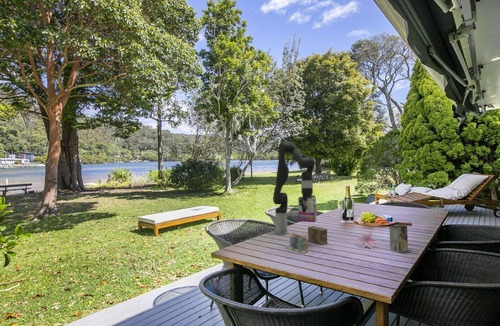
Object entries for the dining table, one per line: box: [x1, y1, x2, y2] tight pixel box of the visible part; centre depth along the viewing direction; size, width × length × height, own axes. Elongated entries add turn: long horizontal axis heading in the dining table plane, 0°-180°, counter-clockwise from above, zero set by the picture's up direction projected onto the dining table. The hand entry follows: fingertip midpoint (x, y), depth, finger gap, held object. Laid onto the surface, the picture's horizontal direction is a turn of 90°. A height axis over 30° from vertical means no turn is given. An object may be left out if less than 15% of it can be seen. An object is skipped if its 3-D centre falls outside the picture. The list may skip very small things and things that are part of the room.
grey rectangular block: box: [285, 233, 310, 255], centre depth 193 cm, size 15×27×10 cm, turn 128°
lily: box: [355, 231, 378, 250], centre depth 190 cm, size 12×12×10 cm
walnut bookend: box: [307, 225, 328, 246], centre depth 199 cm, size 12×6×10 cm, turn 38°
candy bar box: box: [297, 196, 318, 223], centre depth 193 cm, size 11×5×16 cm, turn 62°
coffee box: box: [389, 223, 409, 254], centre depth 181 cm, size 9×6×16 cm
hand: (307, 211), depth 193 cm, fingers closed on candy bar box, 6 cm apart
